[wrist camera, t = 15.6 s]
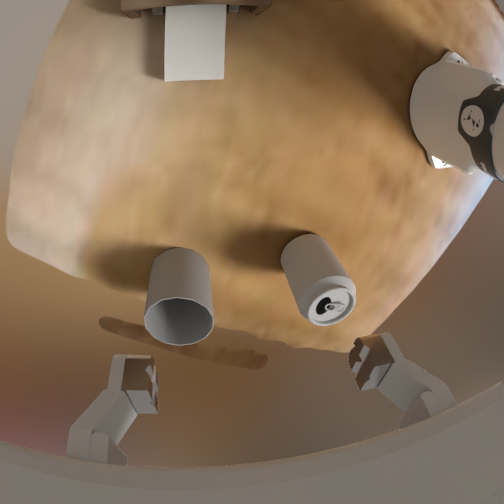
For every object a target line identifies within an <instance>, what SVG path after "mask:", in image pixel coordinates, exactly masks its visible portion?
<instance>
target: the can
mask: <svg viewBox="0 0 504 504" xmlns="http://www.w3.org/2000/svg"><path fill="white" fill-rule="evenodd" d="M281 265H282V268H283V270H284V273H285V275H286V278H287V280H288V283H289V285H290V288H291V290H292V293H293V295H294V298H295V300H296V303H297V305H298V308H299V310H300V313H301V315H302V316H304V317H305V318H306V319H308V320H309V321H310V322H311V323H312V324H315V325H318V326H328V325H333V324H335V323H338V322H340V321H341V320H343V319H344V318H346V317H347V316H348V315H349V314H350V313H351V311H352V310H353V308H354V306H355V302H356V298H355V293H356V289H355V285H354V283H353V282H352V280H351V278H350V277H349V275H348V274H347V272H346V271H345V269H344V267H343V266H342V264H341V263H340V261H339V260H338V258H337V257H336V255H335V253H334V252H333V250H332V249H331V247H330V246H329V244H328V243H327V242H326V240H325V239H324V238H322V237H321V236H319V235H314V234H306V235H302V236H299V237H296V238H295V239H293V240H292V241H291V242H289V243H288V244H287V246H286V247H285V248H284V250H283V252H282V255H281Z"/></svg>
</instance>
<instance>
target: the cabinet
mask: <svg viewBox="0 0 504 504" xmlns="http://www.w3.org/2000/svg"><path fill="white" fill-rule="evenodd" d="M271 1H272V0H121V11H122V12H123V13H125V14H126V15H128V16H129V17H130V18H132V19H134V18H141V9H148V8H153V13H152V14H153V15H154V16H158V15H163V14H164V7H168V6H182V5H212V4H220V5H229V7H228V13H238V11H239V5H250V6H251V14H261V13H262V12H263V11H265V10H266V9H267V8H268V7H269V6H271Z"/></svg>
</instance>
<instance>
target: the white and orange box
mask: <svg viewBox="0 0 504 504" xmlns="http://www.w3.org/2000/svg"><path fill="white" fill-rule="evenodd" d="M226 7H227V5H220V4H212V5H182V6H168V7H166V17H165V54H164V82H170V81H185V80H214V79H224V57H225V30H226Z"/></svg>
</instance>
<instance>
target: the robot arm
mask: <svg viewBox="0 0 504 504" xmlns="http://www.w3.org/2000/svg"><path fill="white" fill-rule="evenodd" d="M457 62H458V63H457ZM410 118H411V123H412V127H413V130H414V133H415V135H416V137H417V139H418V140H419V142H420V143H421V144H422V146H423V147H424V148H425V150H426V151H427V155H428V159H429V162H430V165H431V166H432V167H435V168H437V169H439V168H447V167H455V168H457V169H459V170H461V171H463V172H465V173H467V174H472V173H478V172H481V171H483V172H485V173H486V174H488V175H489V176H490V177H492V178H494V179H496V180H499V181H501V182H504V82H503V81H502V80H500V79H498V78H495V75H494V74H492V73H490V72H489V71H487V70H485V69H481V68H478V67H474V66H472V65H471V64H470V63H468V62H467V61H466V60H464V59H463V58H462V57H461V56H459V55H458V54H457V53H455V52H451V51H448V52H446V53H445V55H444V56H443V57H442V59H441V60H440V61H439V62H437V63H435V64H433V65H431V66H429V67H428V68H426V69H425V70H424V71H423V72H422V73H421V74H420V76H419V77H418V79H417V80H416V82H415V85H414V87H413V90H412V94H411V99H410ZM354 345H355V347H354V348H353V349H351V351H350V353H349V365H350V368H351V370H352V371H353V372H354V373H356V377H355V380H356V382H357V385H358V387H359V389H360V391H363V390H367V389H371V388H376V387H377V388H378V390H379V391H381V392H382V393H383V394H384V395H385V396H386V397H388V398H389V399H390V400H391V401H392V402H393V403H394V404H396V405H397V406H398V407H399V408H400V409H401V410H403V411H404V412H405V413H404V414H403V416H402V417H401V418H400V419H399V421H398V424H399V426H400V429H398V430H395V431H392V432H390V433H387V434H384V435H381V436H377V437H374V438H371V439H368V440H365V441H361V442H357V443H354V444H350V445H346V446H343V447H339V448H335V449H330V450H326V451H322V452H317V453H312V454H308V455H302V456H298V457H292V458H286V459H280V460H273V461H266V462H258V463H250V464H240V465H228V466H213V467H182V468H181V467H175V468H174V467H172V468H171V467H143V466H128V465H127V456H126V455H125V454H124V453H123V452H122V451H121V450H120V449H119V448H118V446H117V444H118V443H119V441H120V440H121V438H122V437H123V435H124V434H125V433H126V431H127V429H128V428H129V426H130V425H131V424H132V422H133V421H134V419H135V417H136V416H137V413H140V414H141V413H143V414H148V413H151V414H153V413H158V398H157V394H156V392H157V391H158V389H159V382H158V381H159V380H158V372H157V368H156V367H155V366H154V359H153V356H149V355H148V356H147V355H114V357H113V360H112V365H111V371H110V377H109V384H108V390H104V391H103V392H102V393H101V394H100V395H99V396H98V397H97V398H96V399H95V401H94V402H93V403H92V404H91V405H90V406H89V407H88V408H87V409H86V411H85V412H84V413H83V414H82V415H81V416H80V417H79V418H78V420H77V421H76V422H75V423H74V424H73V425H72V426H71V427H70V432H69V440H68V446H67V454H66V457H63V456H58V455H53V454H48V453H44V452H39V451H35V450H31V449H28V448H24V447H20V446H17V445H13V444H10V443H7V442H4V441H1V440H0V504H504V381H502V382H500V383H498V384H496V385H495V386H493V387H491V388H489V389H487V390H486V391H484V392H482V393H480V394H478V395H476V396H475V397H472V398H470V399H468V400H466V401H464V402H462V403H461V404H458V405H457V404H456V402H455V400H454V398H453V396H452V394H451V393H450V391H449V389H448V387H447V385H446V384H445V383H444V382H442V381H441V380H439V379H437V378H436V377H434V376H433V375H431V374H430V373H428V372H427V371H425V370H424V369H422V368H420V367H419V366H417V365H416V364H414V363H413V362H411V361H410V360H408V359H407V360H405V359H404V357H403V355H402V353H401V352H400V350H399V348H398V346H397V345H396V343H395V341H394V339H393V338H392V336H391V334H390V333H388V332H386V333H382V334H374V335H369V336H364V337H359V338H357V339H355V342H354Z"/></svg>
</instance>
